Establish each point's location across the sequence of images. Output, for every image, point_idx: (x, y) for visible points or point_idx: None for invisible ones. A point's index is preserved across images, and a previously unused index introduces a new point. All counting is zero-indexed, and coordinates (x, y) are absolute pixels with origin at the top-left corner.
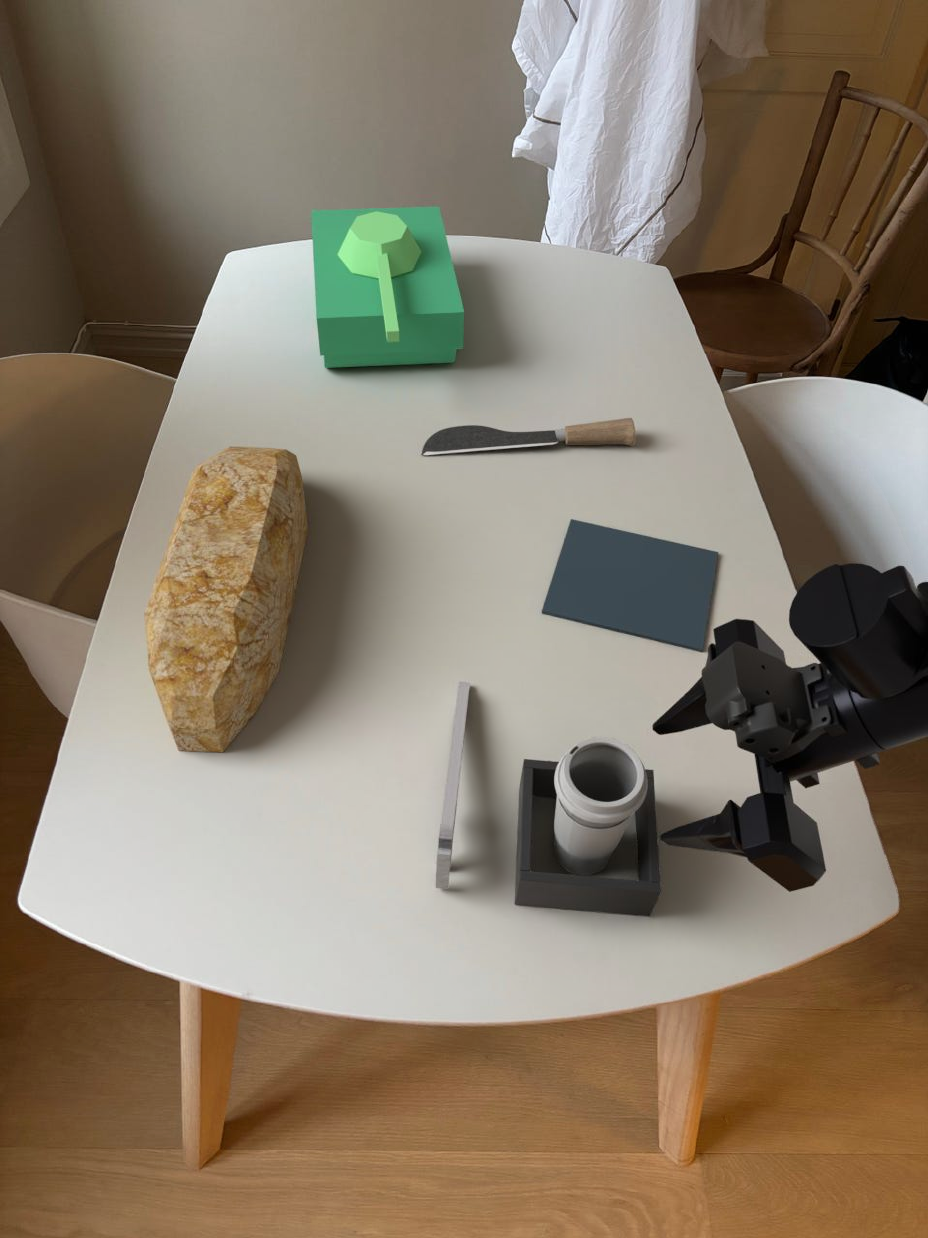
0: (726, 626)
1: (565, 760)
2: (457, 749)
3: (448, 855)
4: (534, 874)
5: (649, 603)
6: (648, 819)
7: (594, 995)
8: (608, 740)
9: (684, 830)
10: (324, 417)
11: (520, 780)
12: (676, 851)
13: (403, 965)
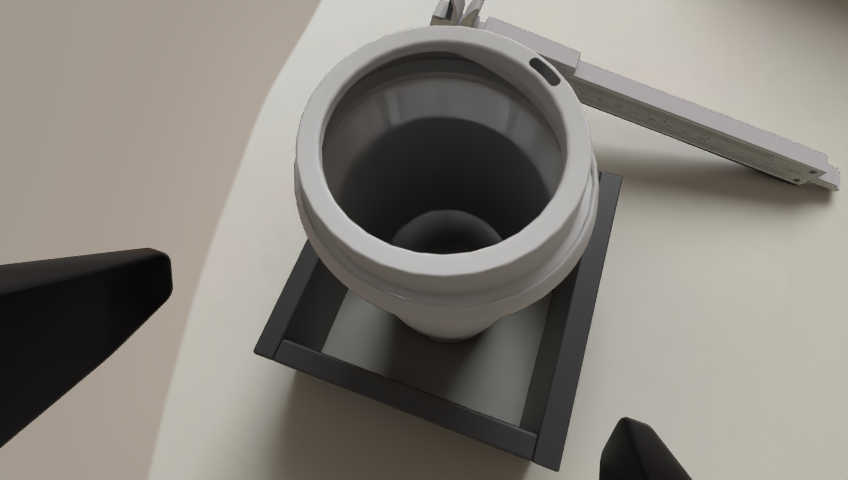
0: None
1: (507, 39)
2: (664, 102)
3: (434, 14)
4: None
5: None
6: (421, 395)
7: (224, 235)
8: (570, 188)
9: (15, 273)
10: None
11: None
12: (400, 476)
13: (351, 36)
